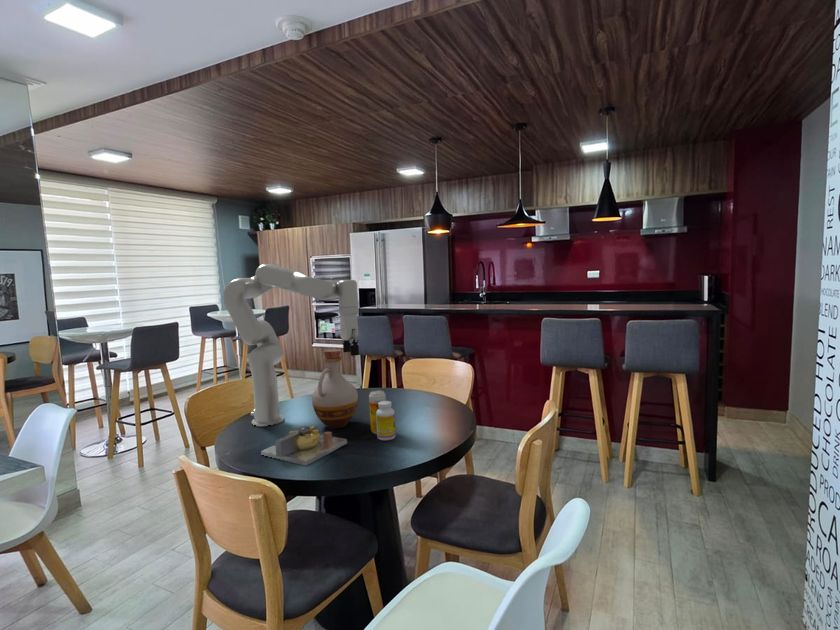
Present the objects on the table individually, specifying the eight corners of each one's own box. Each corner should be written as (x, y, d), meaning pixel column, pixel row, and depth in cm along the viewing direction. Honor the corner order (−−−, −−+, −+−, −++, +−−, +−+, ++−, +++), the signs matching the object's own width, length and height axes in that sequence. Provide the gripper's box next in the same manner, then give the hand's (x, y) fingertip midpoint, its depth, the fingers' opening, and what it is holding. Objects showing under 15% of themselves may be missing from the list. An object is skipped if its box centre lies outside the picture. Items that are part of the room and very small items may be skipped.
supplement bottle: (396, 440, 155) (395, 404, 154) (378, 442, 154) (376, 406, 153) (394, 433, 161) (393, 399, 160) (376, 435, 160) (374, 400, 159)
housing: (261, 455, 146) (259, 436, 146) (304, 435, 164) (303, 418, 163) (306, 465, 136) (304, 445, 136) (346, 443, 154) (345, 425, 153)
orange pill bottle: (373, 435, 160) (371, 395, 159) (368, 430, 166) (366, 391, 164) (389, 432, 162) (387, 393, 161) (384, 427, 168) (382, 389, 167)
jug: (342, 436, 161) (337, 355, 158) (301, 432, 167) (296, 354, 164) (367, 419, 179) (363, 346, 176) (329, 416, 185) (324, 345, 183)
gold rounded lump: (304, 436, 157) (303, 421, 156) (326, 440, 152) (325, 425, 151) (268, 454, 142) (266, 437, 142) (290, 459, 137) (289, 442, 137)
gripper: (333, 310, 181) (335, 351, 182) (346, 313, 165) (348, 357, 167) (351, 309, 184) (353, 349, 185) (365, 311, 168) (367, 355, 170)
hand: (351, 353), depth 176 cm, fingers open, 9 cm apart
